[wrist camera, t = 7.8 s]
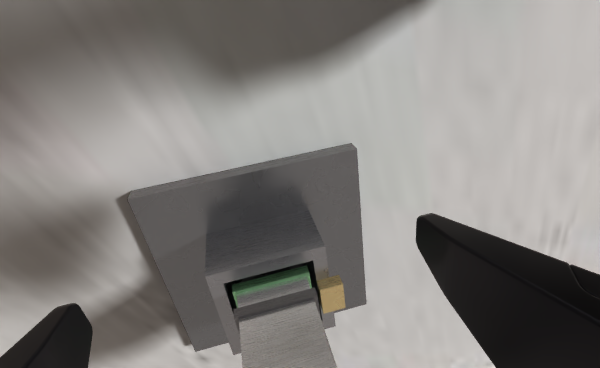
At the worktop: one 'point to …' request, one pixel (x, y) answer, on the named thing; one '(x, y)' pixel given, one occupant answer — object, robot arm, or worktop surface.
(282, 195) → the stand base
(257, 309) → the gray rectangular plug
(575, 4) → the worktop surface
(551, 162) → the worktop surface
